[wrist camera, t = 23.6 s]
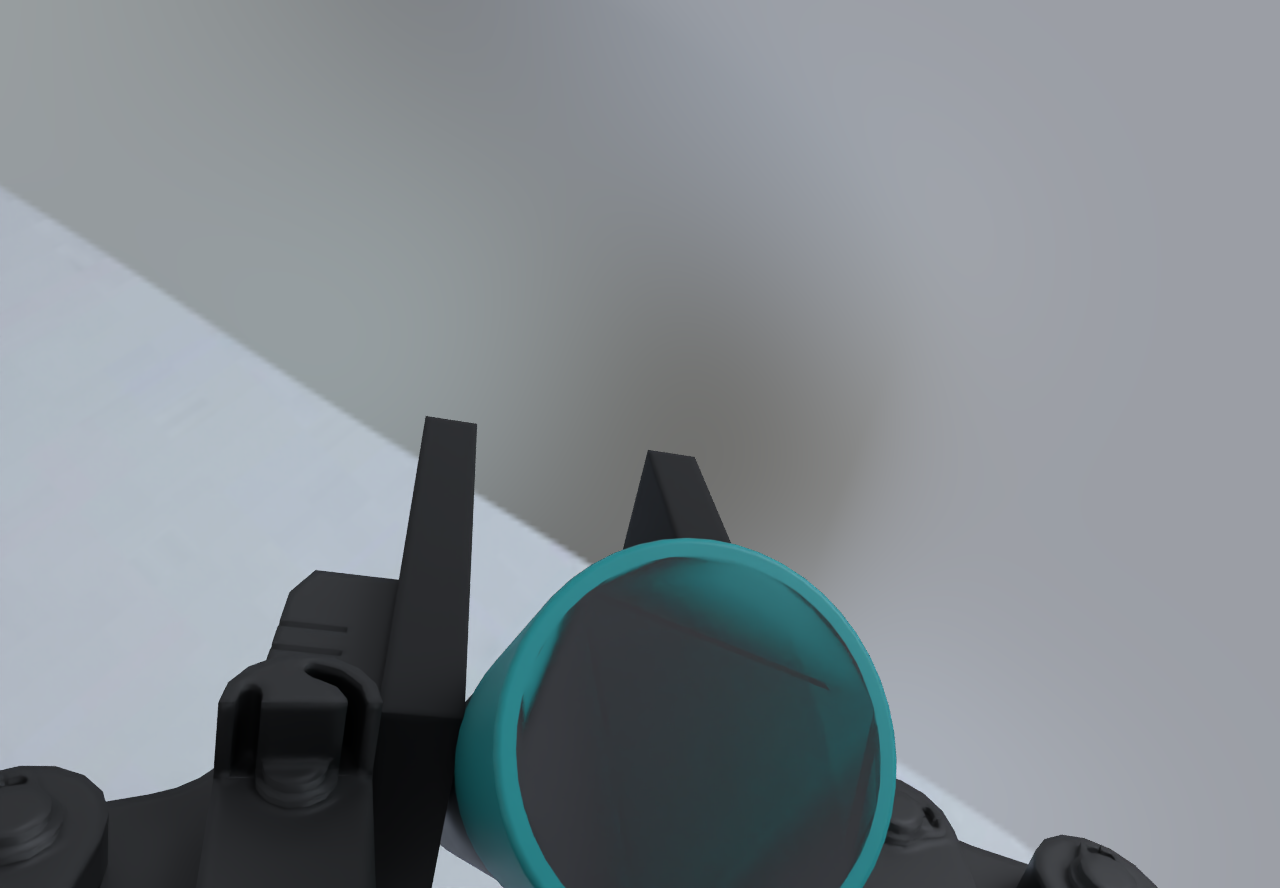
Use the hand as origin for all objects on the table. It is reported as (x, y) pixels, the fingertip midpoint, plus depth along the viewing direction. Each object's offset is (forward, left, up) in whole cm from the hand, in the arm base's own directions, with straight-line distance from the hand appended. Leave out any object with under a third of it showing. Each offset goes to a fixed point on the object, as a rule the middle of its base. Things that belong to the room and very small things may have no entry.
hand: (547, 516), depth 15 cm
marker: (0, +4, -4) cm, 5 cm away
